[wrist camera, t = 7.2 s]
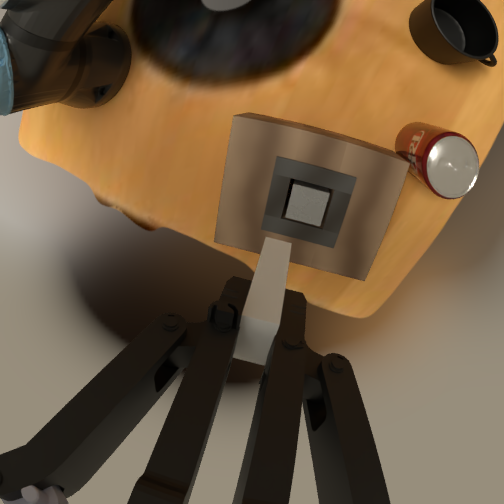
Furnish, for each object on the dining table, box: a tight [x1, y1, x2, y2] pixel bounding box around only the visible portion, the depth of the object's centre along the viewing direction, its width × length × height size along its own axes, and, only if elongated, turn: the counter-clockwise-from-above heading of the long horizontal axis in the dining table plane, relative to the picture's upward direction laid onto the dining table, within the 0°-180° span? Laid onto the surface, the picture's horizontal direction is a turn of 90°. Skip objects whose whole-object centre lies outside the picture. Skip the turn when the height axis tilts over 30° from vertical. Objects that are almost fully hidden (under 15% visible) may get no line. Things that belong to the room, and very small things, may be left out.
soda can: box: [395, 122, 479, 199], centre depth 29 cm, size 7×7×12 cm
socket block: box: [214, 112, 410, 281], centre depth 36 cm, size 20×16×8 cm
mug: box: [409, 0, 498, 67], centre depth 21 cm, size 9×12×9 cm
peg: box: [285, 179, 330, 226], centre depth 36 cm, size 4×4×8 cm
